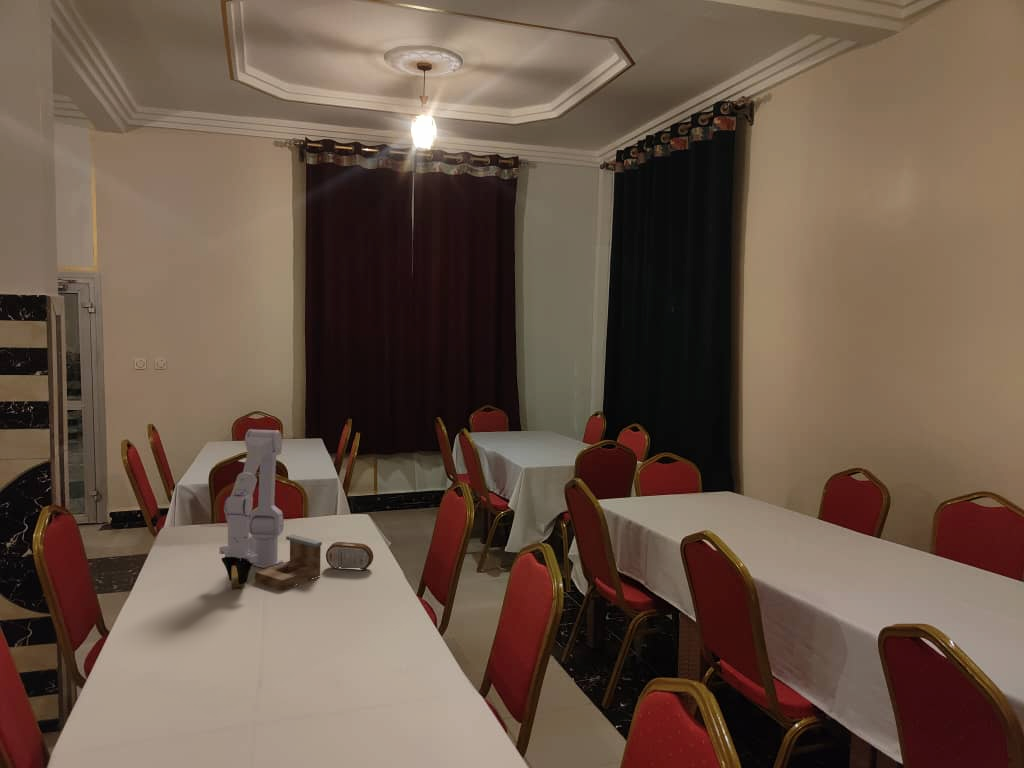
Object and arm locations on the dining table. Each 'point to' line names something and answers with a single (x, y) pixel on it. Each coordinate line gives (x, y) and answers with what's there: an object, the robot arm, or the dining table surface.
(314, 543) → the socket block
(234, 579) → the peg
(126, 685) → the dining table surface
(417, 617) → the dining table surface
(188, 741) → the dining table surface
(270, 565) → the robot arm
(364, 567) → the tin
